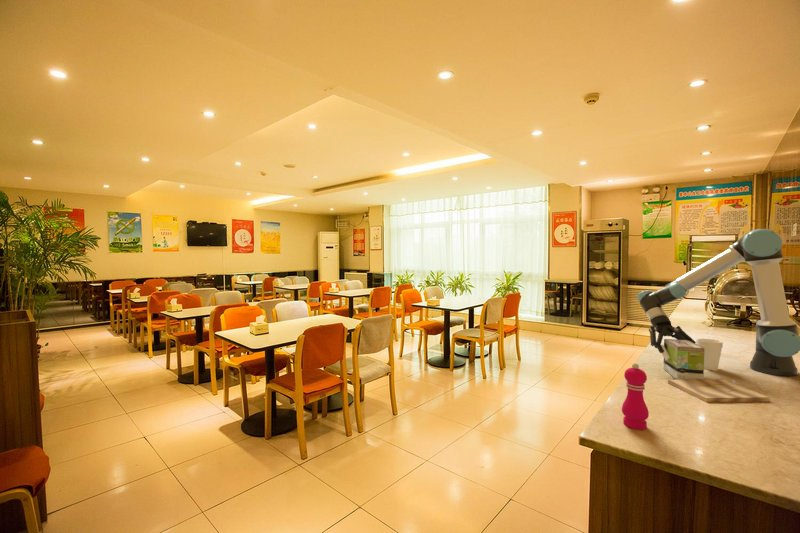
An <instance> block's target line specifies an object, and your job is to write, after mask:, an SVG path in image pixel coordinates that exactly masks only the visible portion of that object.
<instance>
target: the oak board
mask: <svg viewBox="0 0 800 533" xmlns="http://www.w3.org/2000/svg"><path fill="white" fill-rule="evenodd" d="M667 383H668V384H669V385H671V386H673V387H674V388H677V389H679V390H681V391H683V392H684V393H687V394H689V395H691V396H693V397H695V398H697V399H699V400H701V401H703V402H705V403H729V402H730V403H731V402H732V403H734V402H735V403H737V402H738V403H740V402H742V403H743V402H746V403H747V402H748V403H749V402H751V403H753V402H770V401H771V400H770V397H769V396H768V395H765V394H763V393H759V392H757V391H755V390H752V389H749V388H747V387H745V386H743V385H739V384H737V383H734V382H732V381H729V380H727V379H723V378H720V379H719V378H717V379H715V378H711V379H710V378H709V379H707V378H705V379H689V380H677V379H668V380H667Z"/></svg>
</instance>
